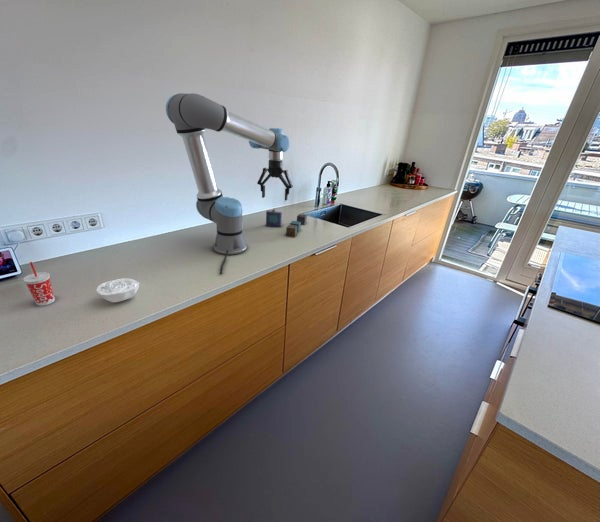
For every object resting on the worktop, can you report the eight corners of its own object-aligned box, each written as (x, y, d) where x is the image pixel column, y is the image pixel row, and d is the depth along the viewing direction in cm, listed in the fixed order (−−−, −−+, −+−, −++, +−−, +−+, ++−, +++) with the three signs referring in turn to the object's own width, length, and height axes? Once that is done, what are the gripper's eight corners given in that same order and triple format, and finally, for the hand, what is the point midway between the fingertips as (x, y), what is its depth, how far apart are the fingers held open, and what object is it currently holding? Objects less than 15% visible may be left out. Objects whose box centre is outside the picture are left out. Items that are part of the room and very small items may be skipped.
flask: (281, 225, 172) (282, 208, 167) (281, 227, 170) (281, 209, 165) (266, 224, 172) (266, 207, 168) (265, 226, 170) (265, 208, 165)
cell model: (138, 305, 93) (134, 287, 90) (95, 309, 89) (89, 291, 86) (144, 289, 101) (140, 272, 98) (105, 292, 98) (100, 275, 95)
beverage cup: (30, 308, 88) (13, 268, 82) (37, 297, 93) (21, 259, 87) (55, 305, 90) (40, 265, 84) (60, 294, 95) (47, 256, 89)
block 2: (294, 237, 157) (295, 228, 155) (285, 235, 158) (286, 227, 156) (297, 234, 161) (297, 225, 159) (288, 232, 162) (289, 224, 160)
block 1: (298, 232, 163) (298, 224, 161) (289, 231, 164) (290, 223, 162) (300, 230, 168) (300, 221, 166) (292, 228, 169) (292, 220, 167)
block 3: (304, 224, 177) (304, 217, 174) (296, 223, 178) (297, 216, 175) (306, 222, 181) (306, 214, 179) (298, 221, 182) (299, 213, 180)
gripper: (299, 161, 155) (297, 199, 165) (256, 156, 160) (256, 194, 170) (296, 162, 149) (293, 202, 158) (251, 158, 154) (251, 197, 163)
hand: (274, 198), depth 164 cm, fingers open, 13 cm apart
